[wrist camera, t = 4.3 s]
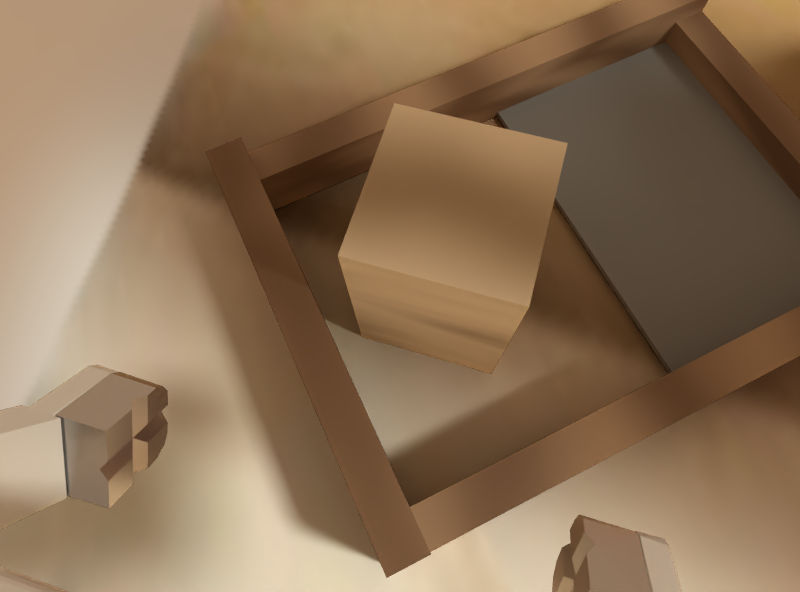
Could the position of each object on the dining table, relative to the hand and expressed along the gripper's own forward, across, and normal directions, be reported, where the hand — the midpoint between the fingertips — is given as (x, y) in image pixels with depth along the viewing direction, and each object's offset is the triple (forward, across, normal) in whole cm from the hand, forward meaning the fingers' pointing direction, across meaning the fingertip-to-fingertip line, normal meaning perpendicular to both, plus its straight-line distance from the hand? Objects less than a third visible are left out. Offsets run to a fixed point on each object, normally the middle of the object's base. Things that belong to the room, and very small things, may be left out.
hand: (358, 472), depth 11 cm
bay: (+16, -4, -1) cm, 17 cm away
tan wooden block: (+14, 0, +2) cm, 14 cm away
